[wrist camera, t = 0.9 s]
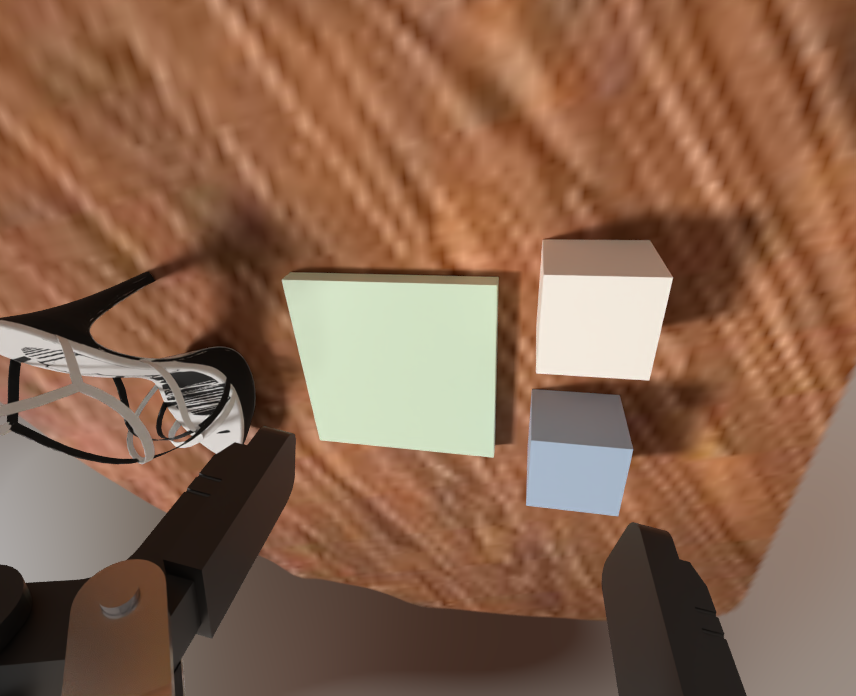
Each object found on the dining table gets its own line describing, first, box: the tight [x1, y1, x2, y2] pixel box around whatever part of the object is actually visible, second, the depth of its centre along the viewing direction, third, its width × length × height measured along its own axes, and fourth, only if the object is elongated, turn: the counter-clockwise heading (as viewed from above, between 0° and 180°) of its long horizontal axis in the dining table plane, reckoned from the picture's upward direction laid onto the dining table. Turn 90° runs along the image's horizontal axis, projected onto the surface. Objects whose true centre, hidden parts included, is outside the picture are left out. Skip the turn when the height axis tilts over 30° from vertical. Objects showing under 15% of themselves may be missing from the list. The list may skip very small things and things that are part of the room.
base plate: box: [282, 272, 499, 457], centre depth 31 cm, size 13×13×1 cm
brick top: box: [526, 389, 633, 516], centre depth 29 cm, size 5×5×5 cm
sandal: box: [0, 272, 255, 464], centre depth 28 cm, size 15×9×15 cm, turn 177°
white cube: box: [536, 239, 673, 380], centre depth 24 cm, size 5×5×5 cm
